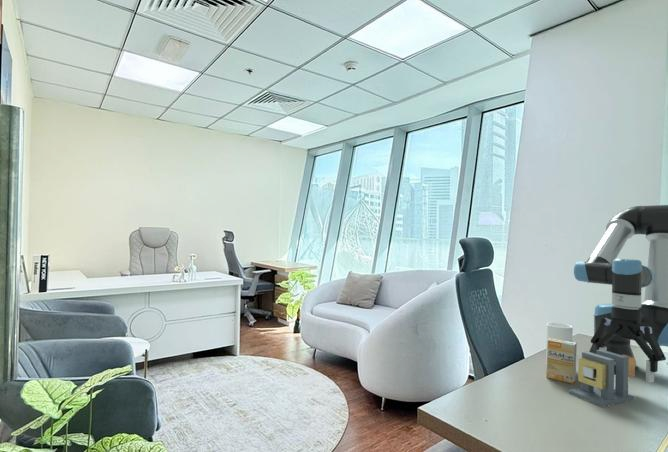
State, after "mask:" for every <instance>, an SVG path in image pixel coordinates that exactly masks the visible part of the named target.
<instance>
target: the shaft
mask: <svg viewBox="0 0 668 452" xmlns="http://www.w3.org/2000/svg"><path fill="white" fill-rule="evenodd" d="M623 356H626V357H629V365H628V379H630V378H634V377H635V376H636V375H635V373H636V370H635V369H636V368H635V360H636V357H635V356H634V357H631V356H627V355H623ZM583 376H586V377H589V378H592V379H596V369H593V368H590V367H587V366H583ZM614 376H616V361H614Z"/></svg>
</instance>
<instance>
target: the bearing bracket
mask: <svg viewBox="0 0 668 452" xmlns="http://www.w3.org/2000/svg"><path fill="white" fill-rule="evenodd" d="M581 358H586V359H589V360H593V361H596V362H599V363H602V364H606V365H607V379H606V389H603V390H602V389H599V388H596V387H593V386H591V385H588V384H585V383H583V382H580V383H581V386H580V387H577V388H573V389H569V390H568V394H570V395H572V396H575V397H577V398H580V399H582V400H584V401H588V402H590V403H593V404H594V403H595V404H594V405H596V406H599V405H600V406H599V407H601V406H602V407H601V408H604V406H606V407H609V406H608V405H610V406H613V405H612V404H614V405H618V404H622V403H627V402H632V401H635V396H634V395H631V394H629V378H628V365H629V357H626V356H623V355H619V354H616V353H612V352H608V351H605V350H596V354H594V353H591V352H589V351H581ZM614 361H616V375H614ZM617 403H618V404H617Z"/></svg>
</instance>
